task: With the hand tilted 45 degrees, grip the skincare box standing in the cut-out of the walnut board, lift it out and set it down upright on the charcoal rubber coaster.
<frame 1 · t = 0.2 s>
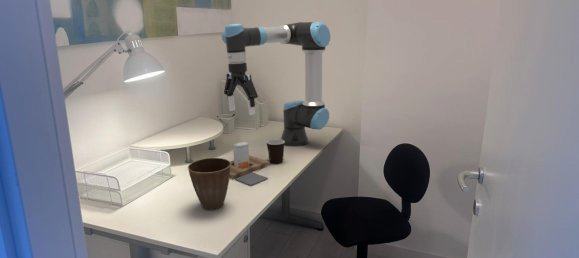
hand: (241, 112, 164), 28 cm above the table, tool pointing down, fingers open, 13 cm apart
plant pot: (212, 206, 141), on the table
coaster: (251, 179, 164), on the table
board: (242, 168, 176), on the table
skincare box: (242, 168, 177), resting in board
coffee mug: (276, 160, 186), on the table
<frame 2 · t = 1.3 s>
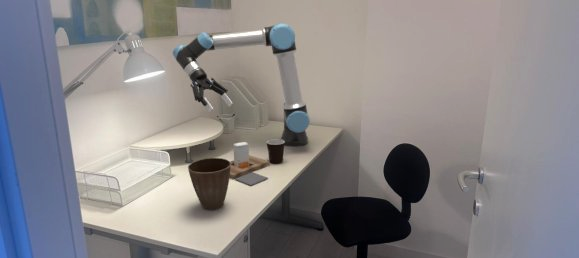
hand: (221, 107, 179), 27 cm above the table, tool tilted 45°, fingers open, 13 cm apart
nothing on the table moved.
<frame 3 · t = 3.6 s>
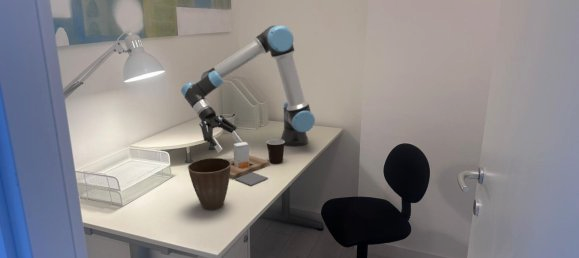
hand: (230, 147, 176), 10 cm above the table, tool tilted 45°, fingers open, 13 cm apart
nothing on the table moved.
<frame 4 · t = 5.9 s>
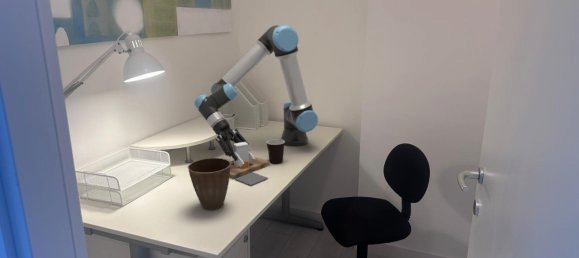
hand: (247, 162, 174), 4 cm above the table, tool tilted 45°, fingers closed on skincare box, 7 cm apart
skincare box: (242, 168, 177), resting in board, touching gripper
everything else where it was.
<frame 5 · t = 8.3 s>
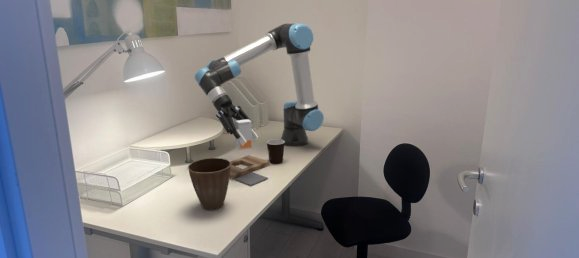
hand: (250, 141, 161), 17 cm above the table, tool tilted 45°, fingers closed on skincare box, 7 cm apart
skincare box: (244, 148, 164), point 13 cm above the table, touching gripper
everything else where it was.
when the fingers open (5 cm above the table, at t = 11.0 s): skincare box drops 1 cm, resting on coaster.
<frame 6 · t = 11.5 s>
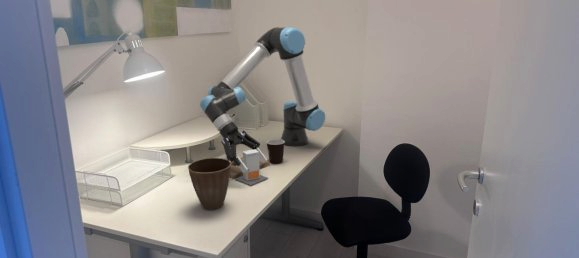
hand: (255, 166, 161), 7 cm above the table, tool tilted 45°, fingers open, 13 cm apart
skincare box: (251, 178, 164), resting on coaster
everything else where it was.
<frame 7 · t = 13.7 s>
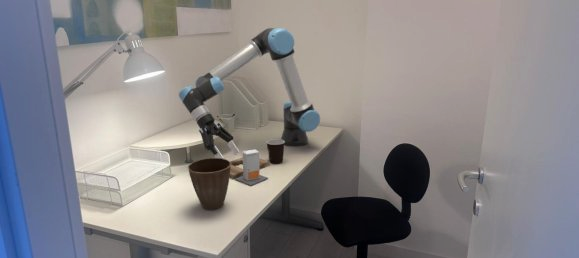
hand: (229, 156, 169), 8 cm above the table, tool tilted 40°, fingers open, 13 cm apart
nothing on the table moved.
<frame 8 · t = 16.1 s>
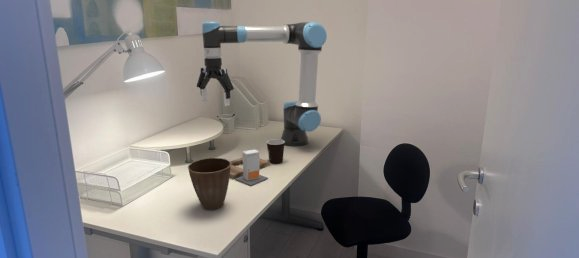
hand: (215, 104, 176), 29 cm above the table, tool pointing down, fingers open, 13 cm apart
nothing on the table moved.
at the end: skincare box inside the target area on the coaster (0.2 cm from its centre), point 0.4 cm above the coaster's base; skincare box tilted 0°; the gripper is holding nothing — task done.
